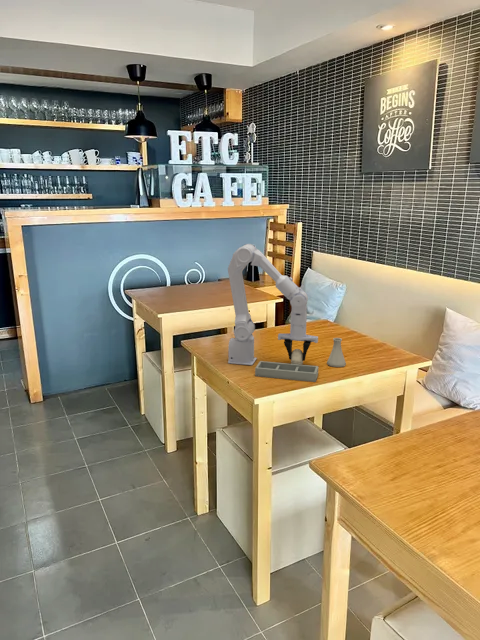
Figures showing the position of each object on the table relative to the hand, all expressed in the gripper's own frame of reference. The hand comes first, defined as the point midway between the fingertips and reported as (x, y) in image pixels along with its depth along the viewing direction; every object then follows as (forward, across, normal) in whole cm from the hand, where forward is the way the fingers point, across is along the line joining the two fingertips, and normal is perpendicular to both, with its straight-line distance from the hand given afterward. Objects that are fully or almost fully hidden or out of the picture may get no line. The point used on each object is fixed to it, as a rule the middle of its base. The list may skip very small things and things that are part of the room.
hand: (297, 359), depth 183 cm
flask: (+3, -14, -5) cm, 15 cm away
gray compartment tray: (+2, +2, +11) cm, 11 cm away
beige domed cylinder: (+2, 0, 0) cm, 2 cm away
